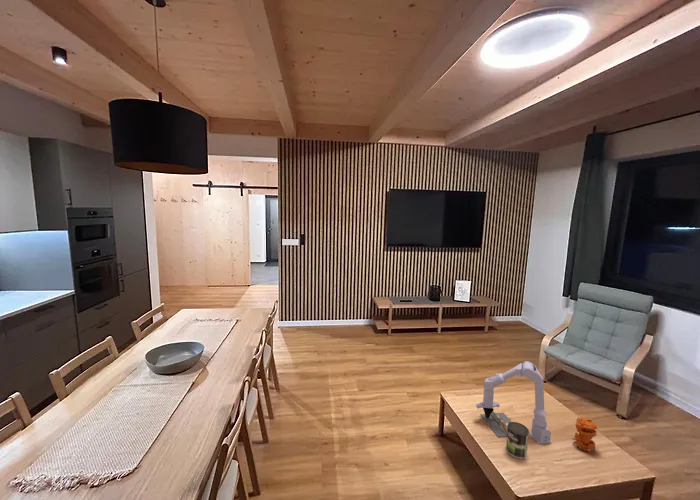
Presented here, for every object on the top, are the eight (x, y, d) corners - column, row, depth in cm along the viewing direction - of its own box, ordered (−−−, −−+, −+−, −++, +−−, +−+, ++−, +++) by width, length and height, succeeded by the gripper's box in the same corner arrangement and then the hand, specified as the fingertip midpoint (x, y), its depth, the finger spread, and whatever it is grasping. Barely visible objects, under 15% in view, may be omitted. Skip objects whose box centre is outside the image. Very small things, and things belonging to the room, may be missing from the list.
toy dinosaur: (586, 456, 165) (589, 426, 163) (567, 442, 175) (570, 413, 173) (601, 452, 168) (605, 422, 166) (582, 438, 178) (584, 409, 176)
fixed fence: (510, 435, 180) (510, 427, 179) (507, 435, 180) (508, 427, 179) (500, 424, 189) (501, 416, 189) (498, 424, 189) (498, 416, 188)
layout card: (523, 435, 180) (523, 434, 180) (498, 437, 179) (498, 436, 179) (503, 413, 200) (503, 412, 200) (480, 415, 199) (480, 414, 199)
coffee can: (517, 461, 162) (519, 436, 160) (501, 447, 171) (503, 424, 170) (531, 455, 165) (533, 432, 164) (515, 442, 175) (517, 419, 173)
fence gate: (500, 423, 190) (500, 417, 189) (498, 423, 189) (498, 418, 189) (492, 414, 198) (492, 409, 198) (490, 414, 198) (490, 409, 198)
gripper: (495, 393, 196) (494, 412, 198) (474, 394, 195) (473, 414, 196) (502, 399, 189) (500, 420, 191) (479, 401, 188) (478, 421, 189)
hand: (487, 417), depth 193 cm, fingers closed
